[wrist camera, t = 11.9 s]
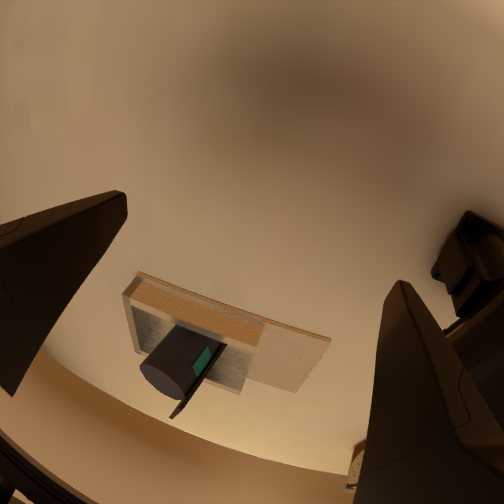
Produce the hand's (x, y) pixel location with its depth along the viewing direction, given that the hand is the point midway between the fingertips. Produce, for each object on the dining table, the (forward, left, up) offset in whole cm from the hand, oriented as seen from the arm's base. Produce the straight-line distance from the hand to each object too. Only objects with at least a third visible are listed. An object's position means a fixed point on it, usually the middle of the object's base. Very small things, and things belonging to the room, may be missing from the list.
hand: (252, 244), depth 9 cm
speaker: (+6, +25, -13) cm, 29 cm away
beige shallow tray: (+3, +25, -13) cm, 28 cm away
